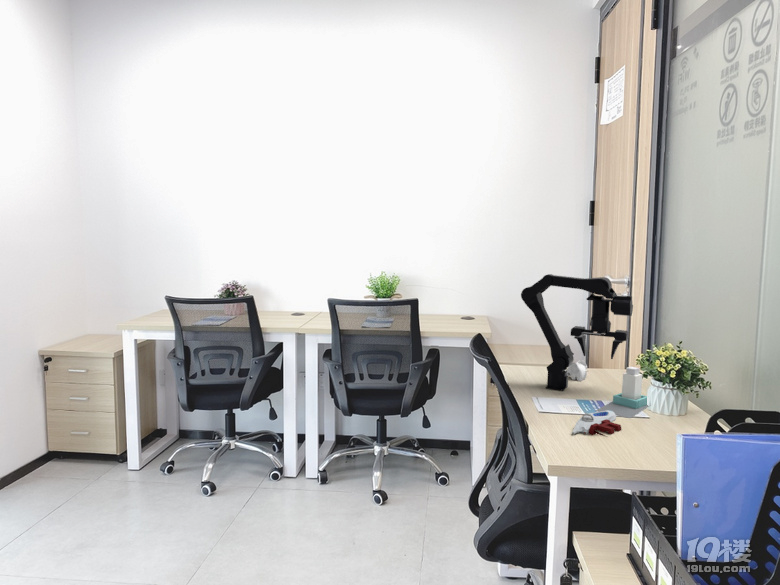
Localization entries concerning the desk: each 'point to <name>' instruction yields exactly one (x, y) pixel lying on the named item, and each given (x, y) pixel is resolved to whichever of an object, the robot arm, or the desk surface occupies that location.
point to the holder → (630, 401)
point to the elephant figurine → (577, 370)
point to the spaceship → (592, 420)
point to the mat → (622, 410)
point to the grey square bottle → (632, 383)
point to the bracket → (604, 427)
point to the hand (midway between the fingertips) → (598, 357)
